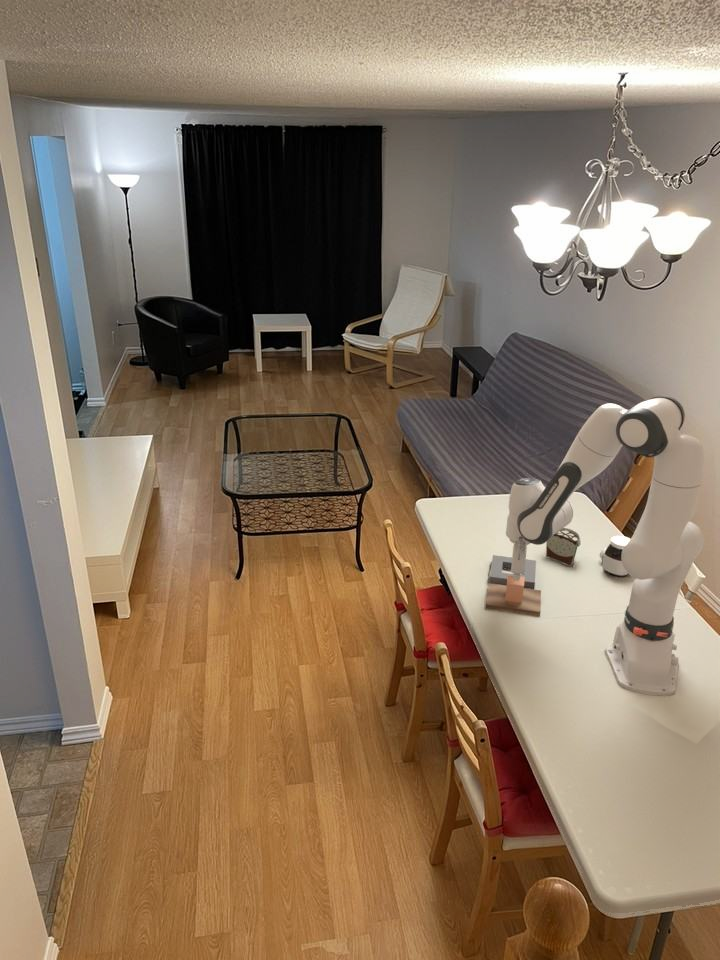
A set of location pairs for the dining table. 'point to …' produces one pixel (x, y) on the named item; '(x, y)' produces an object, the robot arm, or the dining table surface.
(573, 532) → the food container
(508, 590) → the terracotta block
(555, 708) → the dining table surface
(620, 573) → the spread jar
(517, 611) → the walnut board
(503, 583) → the pocket plate
